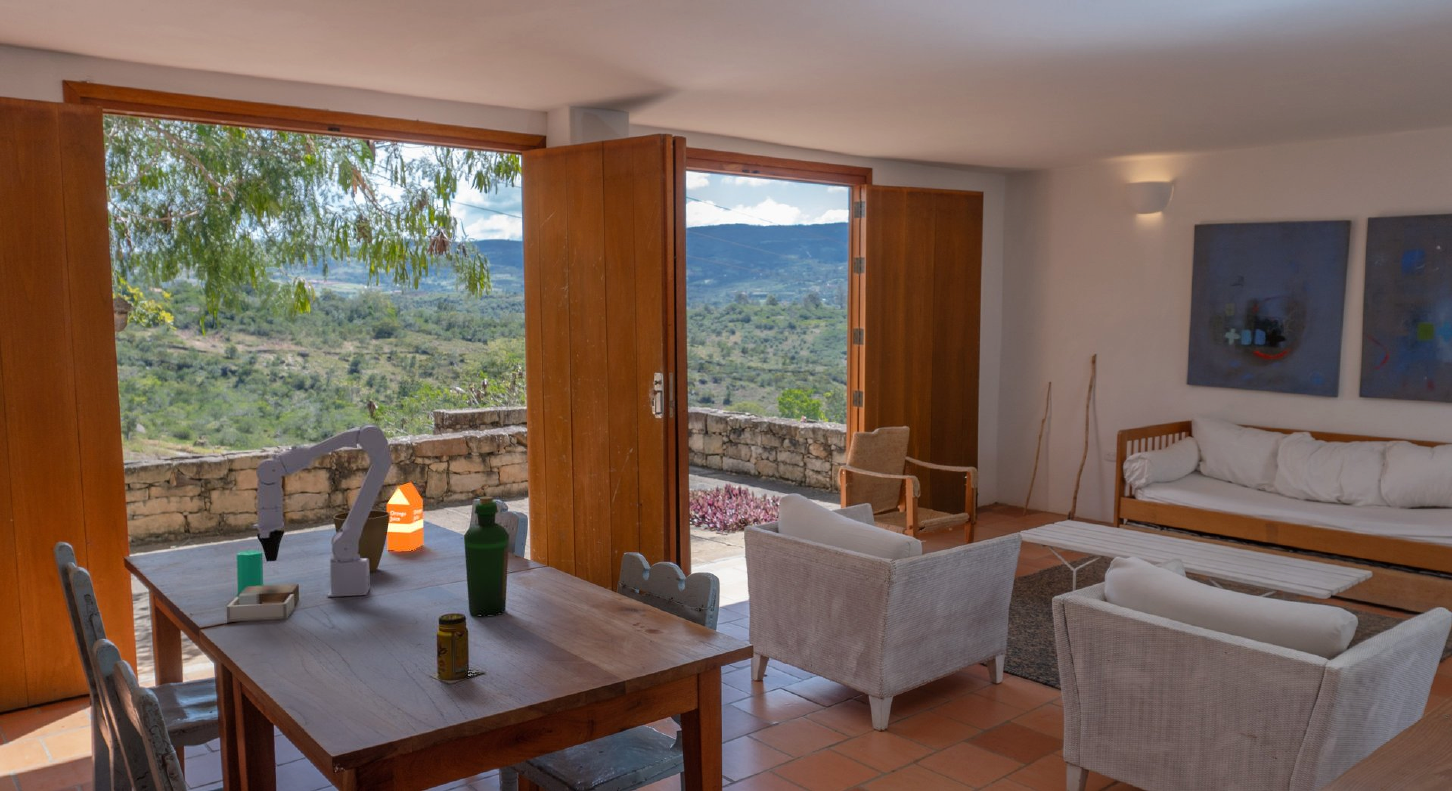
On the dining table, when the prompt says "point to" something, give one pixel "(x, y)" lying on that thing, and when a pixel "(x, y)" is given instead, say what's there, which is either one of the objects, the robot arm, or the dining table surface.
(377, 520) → the plant pot
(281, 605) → the tray
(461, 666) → the condiment
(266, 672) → the dining table surface
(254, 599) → the grey rectangular prism
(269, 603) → the tile terracotta
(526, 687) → the dining table surface
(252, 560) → the candle
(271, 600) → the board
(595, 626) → the dining table surface
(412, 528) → the orange juice
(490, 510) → the bottle
